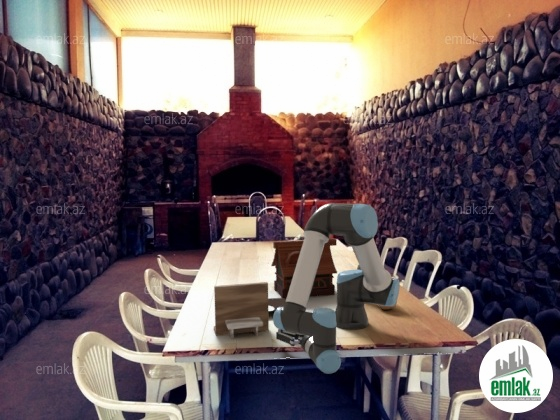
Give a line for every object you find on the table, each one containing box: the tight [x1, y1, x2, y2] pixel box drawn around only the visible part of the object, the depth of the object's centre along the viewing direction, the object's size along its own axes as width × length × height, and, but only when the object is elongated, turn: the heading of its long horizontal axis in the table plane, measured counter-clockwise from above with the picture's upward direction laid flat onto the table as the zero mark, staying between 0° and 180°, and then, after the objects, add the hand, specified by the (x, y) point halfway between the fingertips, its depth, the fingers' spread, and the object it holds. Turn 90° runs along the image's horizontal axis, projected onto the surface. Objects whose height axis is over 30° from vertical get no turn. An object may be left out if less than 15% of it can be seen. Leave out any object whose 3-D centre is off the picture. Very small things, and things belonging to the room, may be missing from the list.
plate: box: [268, 297, 286, 313], centre depth 216 cm, size 28×28×4 cm
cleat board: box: [213, 281, 270, 339], centre depth 184 cm, size 15×22×20 cm
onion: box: [377, 301, 398, 311], centre depth 213 cm, size 10×10×10 cm
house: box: [271, 237, 338, 299], centre depth 245 cm, size 35×28×29 cm
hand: (296, 325), depth 175 cm, fingers open, 13 cm apart
